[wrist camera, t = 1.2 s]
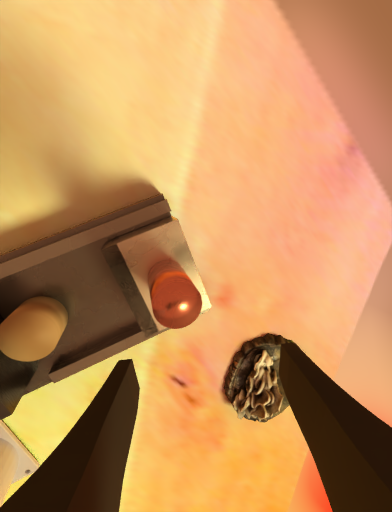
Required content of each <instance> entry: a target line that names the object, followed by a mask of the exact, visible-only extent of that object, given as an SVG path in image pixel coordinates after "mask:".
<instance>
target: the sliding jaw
mask: <svg viewBox="0 0 392 512" xmlns="http://www.w3.org/2000/svg"><path fill="white" fill-rule="evenodd" d="M101 252H102V254H103V256H104V258H105V260H106V262H107V264H108V266H109V267H110V269H111V271H112V273H113V275H114V277H115V279H116V281H117V283H118V285H119V287H120V289H121V291H122V293H123V295H124V297H125V299H126V301H127V303H128V304H129V306H130V308H131V310H132V312H133V314H134V316H135V318H136V320H137V322H138V324H139V326H140V328H141V330H142V332H143V334H144V336H145V338H146V337H148V336H150V335H152V334H154V333H157V332H159V331H161V330H163V329H165V328H172V329H178V328H183V327H186V326H188V325H190V324H191V323H192V322H194V321H195V320H196V318H197V317H198V316H199V314H200V312H201V311H204V310H206V309H208V308H210V307H211V304H210V302H209V299H208V296H207V294H206V291H205V289H204V286H203V283H202V281H201V278H200V276H199V273H198V270H197V268H196V265H195V263H194V260H193V257H192V255H191V252H190V250H189V247H188V244H187V242H186V239H185V237H184V234H183V231H182V229H181V226H180V224H179V221H178V219H177V218H175V217H173V216H170V217H168V218H165V219H163V220H160V221H158V222H155V223H153V224H150V225H148V226H145V227H143V228H140V229H138V230H135V231H133V232H130V233H128V234H125V235H123V236H120V237H118V238H115V239H113V240H110V241H108V242H105V244H104V245H103V247H102V249H101Z"/></svg>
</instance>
